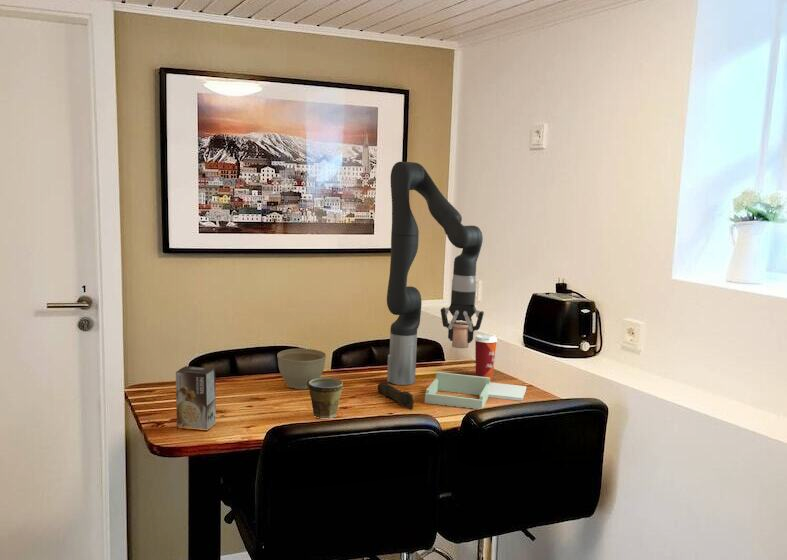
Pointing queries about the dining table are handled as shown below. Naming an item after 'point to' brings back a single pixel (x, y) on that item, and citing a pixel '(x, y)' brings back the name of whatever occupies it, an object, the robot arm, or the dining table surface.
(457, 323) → the lidded jar
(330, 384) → the ceramic cup
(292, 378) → the planter bowl
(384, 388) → the hand tool
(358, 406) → the dining table surface
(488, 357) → the coffee cup
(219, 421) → the dining table surface
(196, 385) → the coffee box
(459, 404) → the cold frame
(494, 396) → the pale green square plate
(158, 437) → the dining table surface
